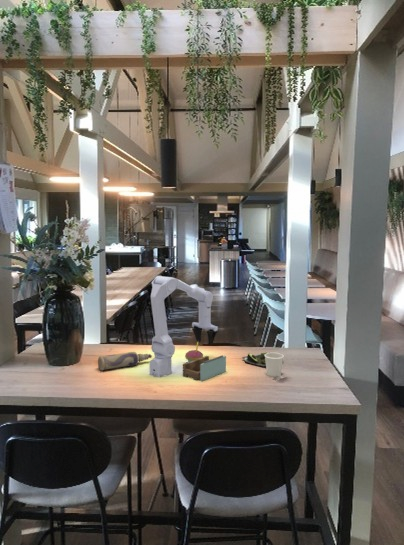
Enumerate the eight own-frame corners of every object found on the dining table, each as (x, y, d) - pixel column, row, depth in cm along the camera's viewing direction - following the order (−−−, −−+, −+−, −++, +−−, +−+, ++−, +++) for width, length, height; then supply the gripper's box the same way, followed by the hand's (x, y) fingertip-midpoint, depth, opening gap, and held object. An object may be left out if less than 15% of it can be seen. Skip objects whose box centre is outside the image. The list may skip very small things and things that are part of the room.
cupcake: (203, 362, 212) (203, 338, 210) (202, 368, 203) (202, 343, 202) (186, 362, 212) (186, 338, 211) (183, 367, 204) (183, 342, 203)
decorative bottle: (102, 373, 198) (101, 358, 197) (97, 368, 204) (97, 354, 203) (154, 364, 210) (154, 350, 209) (149, 360, 216) (148, 347, 216)
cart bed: (198, 384, 182) (198, 369, 181) (181, 379, 189) (181, 364, 188) (225, 373, 195) (225, 359, 194) (208, 369, 202) (208, 355, 201)
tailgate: (201, 381, 182) (201, 363, 181) (200, 380, 182) (200, 362, 181) (225, 371, 194) (225, 354, 193) (224, 371, 194) (224, 354, 193)
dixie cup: (269, 381, 185) (269, 358, 184) (261, 375, 193) (261, 353, 192) (286, 379, 187) (287, 357, 186) (278, 373, 195) (278, 351, 194)
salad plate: (262, 354, 226) (262, 345, 226) (291, 361, 214) (291, 352, 213) (237, 362, 213) (237, 353, 213) (266, 370, 200) (266, 360, 200)
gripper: (221, 316, 206) (221, 344, 207) (198, 312, 215) (198, 339, 217) (212, 318, 201) (212, 347, 202) (189, 314, 210) (189, 342, 211)
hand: (204, 343), depth 209 cm, fingers open, 7 cm apart
